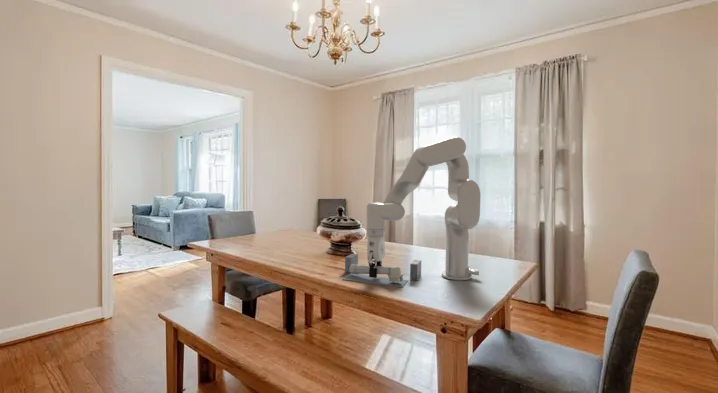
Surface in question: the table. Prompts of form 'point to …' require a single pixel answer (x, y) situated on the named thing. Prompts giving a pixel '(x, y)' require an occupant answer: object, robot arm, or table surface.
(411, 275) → the steel holder
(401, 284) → the rubber mat
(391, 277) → the mallet
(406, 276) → the table surface
